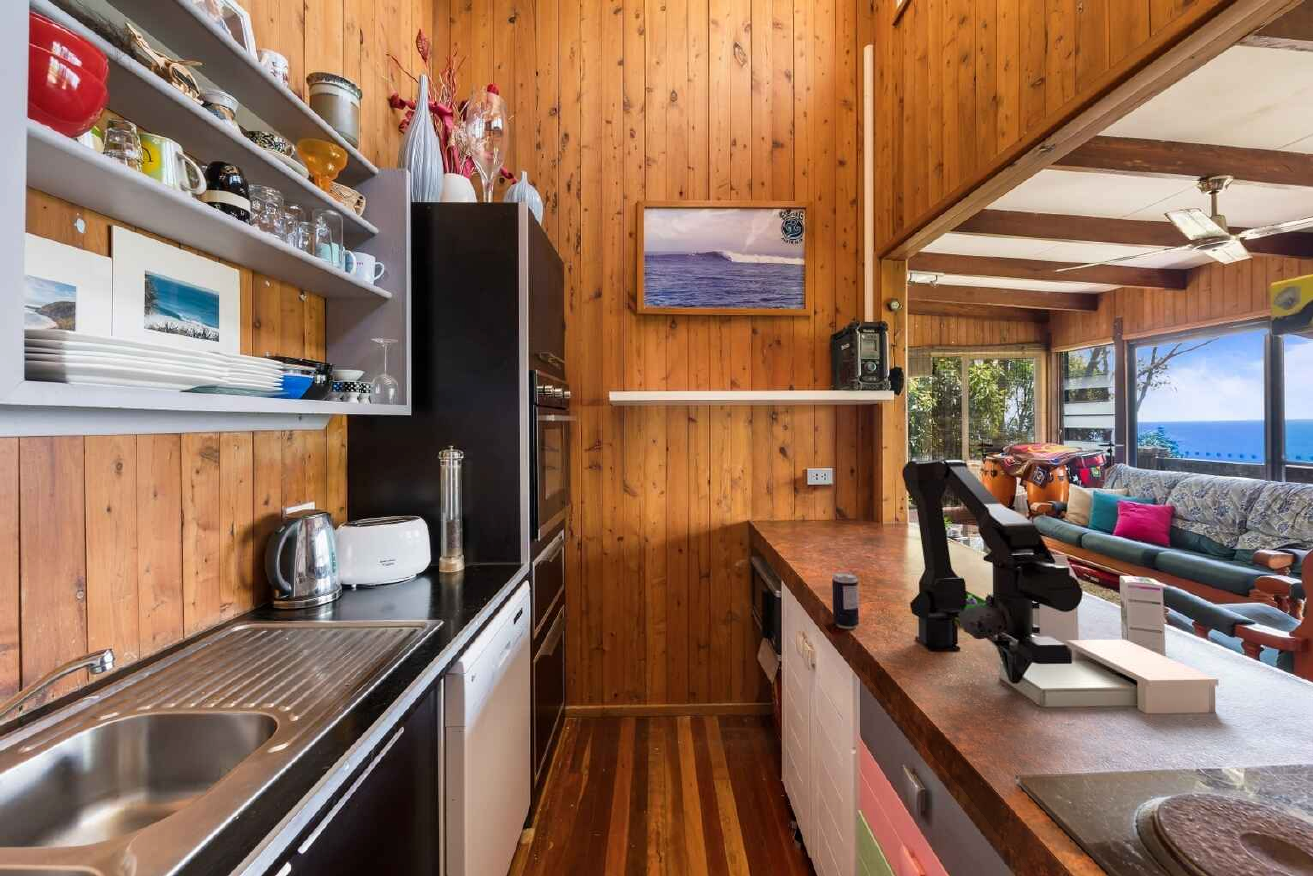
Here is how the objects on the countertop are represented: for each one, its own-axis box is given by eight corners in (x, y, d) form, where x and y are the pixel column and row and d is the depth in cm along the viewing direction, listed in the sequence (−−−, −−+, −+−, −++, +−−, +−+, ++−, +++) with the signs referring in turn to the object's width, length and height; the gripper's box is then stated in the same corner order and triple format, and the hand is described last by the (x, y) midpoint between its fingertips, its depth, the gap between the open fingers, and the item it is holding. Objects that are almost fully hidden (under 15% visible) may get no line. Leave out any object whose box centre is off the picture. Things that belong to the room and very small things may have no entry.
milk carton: (1078, 651, 104) (1077, 558, 104) (1039, 649, 105) (1037, 557, 105) (1058, 638, 111) (1057, 551, 111) (1022, 636, 112) (1020, 550, 112)
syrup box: (1166, 658, 100) (1165, 585, 100) (1126, 652, 103) (1125, 581, 103) (1157, 648, 105) (1156, 578, 105) (1119, 642, 108) (1118, 574, 108)
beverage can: (858, 622, 122) (857, 572, 122) (859, 631, 116) (858, 579, 116) (833, 620, 123) (832, 571, 124) (833, 628, 118) (832, 577, 118)
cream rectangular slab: (1041, 706, 83) (1041, 688, 83) (1000, 678, 93) (1000, 661, 93) (1139, 705, 83) (1139, 686, 83) (1087, 676, 93) (1086, 660, 93)
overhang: (1149, 715, 80) (1148, 680, 80) (1067, 669, 96) (1066, 640, 96) (1219, 714, 80) (1218, 679, 80) (1125, 668, 96) (1124, 639, 96)
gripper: (936, 578, 97) (937, 659, 97) (1002, 611, 79) (1003, 711, 79) (994, 578, 97) (996, 659, 97) (1074, 610, 79) (1075, 711, 78)
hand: (1013, 682), depth 88 cm, fingers closed, pressing on cream rectangular slab
